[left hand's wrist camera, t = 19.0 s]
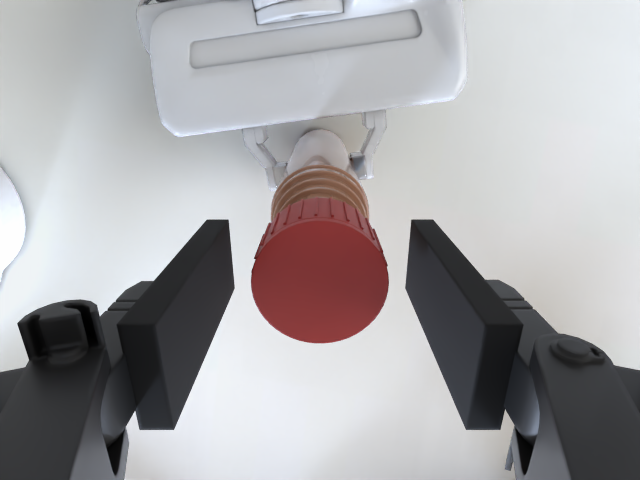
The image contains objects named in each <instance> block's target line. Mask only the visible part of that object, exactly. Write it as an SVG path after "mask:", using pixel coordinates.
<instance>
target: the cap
mask: <svg viewBox="0 0 640 480" xmlns="http://www.w3.org/2000/svg"><path fill="white" fill-rule="evenodd" d="M254 259H256V260H255V263H254V266H253V269H252V276H251V288H252V293H253V298H254V300H255V303H256V305H257V307H258V309H259V311H260V313H261V314H262V315H263V317H264V318H265V319H266V320H267V321H268V323H269V324H270V325H272V326H273V327H274V328H275V329H276V330H278V331H280V332H281V333H283V334H285V335H287V336H289V337H291V338H293V339H296V340H299V341H304V342H309V343H331V342H336V341H341V340H344V339H347V338H349V337H351V336H353V335H355V334H357V333H359V332H360V331H362V330H363V329H365V328H366V327H367V326H368V325H369V324H370V323H371V322H372V321H373V320H374V319H375V318H376V317H377V315H378V314H379V313H380V311H381V309H382V307H383V305H384V303H385V300H386V297H387V293H388V285H389V278H388V271H387V266H388V265H387V262H386V260H385V257H384V254H383V250H382V247H381V245H380V242H379V240H378V237H377V234H376V232H375V229H372V227H371V226H370V223H369V221H368V219H367V218H365V217H364V216H363V215H362V214H361V213H360V212H359V211H358V209H357V208H356V209H355V208H353V207H352V206H350V205H348V204H346V202H341V201H338V200H335V199H332V198H318V197H315V198H310V199H305V200H303V199H301V201H299V202H296V203H294V204H292V205H290V204H289V205H288V207H287V208H285V209H284V210H282V211H281V212H280V213H279V212H278V213H277V215H276V217H275V218H274V220H273V221H272V222H271V223H269V224H268V226H267V229H266V231H265V234H263V237H262V239H261V242H260V244H259V247H258V249H257V252H256V255H255V257H254Z"/></svg>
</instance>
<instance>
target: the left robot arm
mask: <svg viewBox="0 0 640 480" xmlns="http://www.w3.org/2000/svg"><path fill="white" fill-rule="evenodd" d="M234 288H235V287H234V276H233V265H232V254H231V242H230V231H229V220H206V221H205V223H204V224H203V225H202V226H201V227H200V228H199V229H198V231H197V232H196V233H195V234H194V235H193V236H192V238H191V239H190V240H189V241H188V242H187V243H186V245H185V246H184V247H183V248H182V249H181V250H180V251H179V253H178V254H177V255H176V256H175V257H174V258H173V260H172V261H171V262H170V263H169V264H168V265H167V267H166V268H165V269H164V270H163V271H162V272H161V273H160V275H159V276H158V277H157V278H156V279H155V280H154V281H141V282H139V283H137V284H136V285H134V286H132V287H130V288H128V289H127V290H125V291H124V292H123V293H122V294H121V296H120V297H119V298H118V299H117V300H116V302H114V303H113V304H112V305H111V306H110V307H109V308H108V311H105V312H104V313H103V314H102V315H101V316H99V312H98V308H97V305H96V304H94V303H93V302H91V301H86V300H67V301H62V302H58V303H53V304H50V305H47V306H44V307H42V308H39V309H37V310H35V311H33V312H31V313H30V314H28V315H26V316H25V317H24V318H22V319H21V320H20V321H19V322H18V323H17V324H18V327H19V330H20V333H21V336H22V339H23V342H24V345H25V348H26V351H27V354H28V358H29V362H28V364H27V365H26V367H25V368H20V369H15V370H10V371H4V372H0V480H124V476H125V469H126V462H127V454H128V447H129V440H128V434H127V430H126V425H127V423H128V422H129V420H130V418H131V417H132V415H133V413H134V411H136V415H137V420H138V425H139V429H140V430H174V428H175V426H176V424H177V421H178V419H179V417H180V414H181V412H182V410H183V407H184V405H185V403H186V400H187V398H188V396H189V393H190V391H191V389H192V386H193V384H194V382H195V379H196V377H197V375H198V372H199V370H200V368H201V365H202V363H203V361H204V358H205V356H206V354H207V351H208V349H209V347H210V344H211V342H212V340H213V337H214V335H215V333H216V330H217V328H218V326H219V323H220V321H221V319H222V316H223V314H224V312H225V309H226V307H227V305H228V302H229V300H230V298H231V295H232V293H233V291H234ZM405 288H406V291H407V293H408V295H409V298H410V300H411V302H412V305H413V307H414V309H415V312H416V314H417V316H418V319H419V321H420V323H421V326H422V328H423V330H424V333H425V335H426V337H427V340H428V342H429V344H430V347H431V349H432V351H433V354H434V356H435V358H436V361H437V363H438V365H439V368H440V370H441V372H442V375H443V377H444V379H445V382H446V384H447V386H448V389H449V391H450V393H451V396H452V398H453V400H454V403H455V405H456V407H457V410H458V412H459V414H460V417H461V419H462V421H463V424H464V426H465V428H466V430H500V429H501V425H502V420H503V415H504V411H505V409H506V411H507V413H508V414H509V416H510V418H511V420H512V421H513V423H514V425H515V426H514V430H513V434H512V438H511V443H510V447H509V451H508V455H507V459H506V465H505V469H506V470H509V471H511V467H512V463H513V462H514V468H515V475H516V480H640V370H635V369H630V368H624V367H619V366H615V365H613V363H612V361H611V359H610V358H609V357H608V356H607V355H606V354H605V352H604V351H602V350H601V349H599V348H598V347H596V346H595V345H593V344H592V343H589V342H587V341H585V340H582V339H580V338H577V337H573V336H570V335H566V334H558V333H557V332H556V331H555V330H554V329H553V328H552V327H551V326H550V325H549V324H548V323H547V322H546V321H545V320H544V318H543V317H542V316H541V315H540V314H539V313H538V312H537V311H536V310H535V309H533V307H532V306H531V305H530V304H529V303H528V302H527V301H524V298H523V297H522V296H521V295H520V294H519V293H518V292H517V291H516V290H515V289H514V288H512V287H511V286H509V285H507V284H505V283H503V282H502V281H500V280H485V279H484V278H483V277H482V276H481V275H480V273H479V272H478V271H477V270H476V269H475V268H474V267H473V265H472V264H471V263H470V262H469V261H468V260H467V258H466V257H465V256H464V255H463V254H462V253H461V251H460V250H459V249H458V248H457V247H456V246H455V245H454V243H453V242H452V241H451V240H450V239H449V238H448V236H447V235H446V234H445V233H444V232H443V231H442V229H441V228H440V227H439V226H438V225H437V224H436V223H435V221H434V220H411V231H410V242H409V254H408V265H407V276H406V287H405Z"/></svg>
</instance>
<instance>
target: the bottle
mask: <svg viewBox="0 0 640 480" xmlns="http://www.w3.org/2000/svg"><path fill="white" fill-rule="evenodd" d="M315 197H318V198H332V199H335V200H338V201H341V202H346V204H348V205H350V206H352V207H353V208H355V209H356V208H357V209H358V211H359V212H360V213H361V214H362V215H363V216H364V217H365V218H367V219H368V221H369V206H368V200H367V197H366V194H365V192H364V190H363V187H362V185H361V183H360V180H359V178H358V176H357V173H356V171H355V169H354V166H353V164H352V162H351V159H350V157H349V155H348V152H347V150H346V148H345V145H344V143H343V142H342V140H341V139H340V138H339V137H338V136H337V135H336V134H334V133H333V132H331V131H328V130H324V129H316V130H312V131H309V132H307V133H306V134H304V135H303V136H302V137H301V138H300V139H299V140H298V142H297V143H296V146H295V148H294V150H293V153H292V155H291V157H290V159H289V162H288V164H287V166H286V169H285V171H284V173H283V176H282V178H281V180H280V183H279V185H278V187H277V190H276V192H275V194H274V197H273V200H272V206H271V222H272V221H273V220H274V218H275V217H276V215H277V213H278V212H279V213H280V212H281V211H282V210H284V209H285V208H287V207H288V205H289V204H290V205H292V204H294V203H296V202H299V201H301V199H303V200H305V199H310V198H315Z"/></svg>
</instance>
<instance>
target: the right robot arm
mask: <svg viewBox="0 0 640 480" xmlns="http://www.w3.org/2000/svg"><path fill="white" fill-rule="evenodd" d="M150 1H151V0H141V1H140V3H139V6H138V8H137V12H136V16H137V22H138V26H139V30H140V34H141V38H142V41H143V44H144V47H145V49H146V51H147V52H148V54H149V55H150V58H151V68H152V77H153V84H154V91H155V96H156V102H157V107H158V112H159V116H160V120H161V122H162V124H163V125H164V126H165V127H166V128H167V129H168V130H169V131H170V132H171V133H172V134H174V135H175V136H177V137H182V136H190V135H197V134H205V133H212V132H220V131H227V130H235V129H242V132H243V137H244V142H245V146H246V147H247V149H248V150H249V151H250V152H251V153H252V155H253V156H254V157H255V158H256V159H257V161H258V162H259V163H260V164H261V165H262V167H263V168H266V174H267V179H268V185H269V189H270V191H276V190H277V187H278V185H279V183H280V180H281V178H282V176H283V173H284V171H285V169H286V166H287V164H288V161H285V162H277V161H276V160H275V159H274V157H273V156H272V155H271V154H270V152H269V151H268V150H267V148H266V147H265V146H264V144H263V143H264V142H265V141H266V140H267V139H268V133H267V127H266V125H272V124H280V123H287V122H294V121H302V120H309V119H317V118H324V117H332V116H339V115H347V114H354V113H362V121H363V126H365V127H366V128H367V129H370V130H369V132H368V134H367V137H366V139H365V141H364V144H363V146H362V148H361V152H354V153H350V159H351V162H352V164H353V166H354V169H355V171H356V173H357V176H358V178H359V180H362V179H370V178H373V176H374V172H373V160H372V154H374V152H375V150H376V148H377V146H378V144H379V142H380V140H381V138H382V135H383V133H384V131H385V129H386V112H385V109H391V108H399V107H406V106H414V105H421V104H429V103H436V102H444V101H451V100H454V99H456V98H457V96H458V95H459V94H460V92H461V91H462V89H463V87H464V86H465V84H466V82H467V74H468V56H467V38H466V27H465V19H464V11H463V4H462V0H156V1H157V2H159V3H154V4H148V3H149V2H150ZM25 231H26V221H25V213H24V209H23V205H22V202H21V199H20V197H19V194H18V192H17V190H16V188H15V186H14V185H13V183H12V181H11V180H10V178H9V177H8V175H7V174H6V173H5V171H4V170H3V169H2V168H1V167H0V282H1V278H2V272H3V271H4V269H5V268H6V267H7V266H8V265H9V264H10V263H11V262H12V261H13V259H14V258H15V257H16V256H17V254H18V253H19V251H20V249H21V247H22V244H23V241H24V238H25Z"/></svg>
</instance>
